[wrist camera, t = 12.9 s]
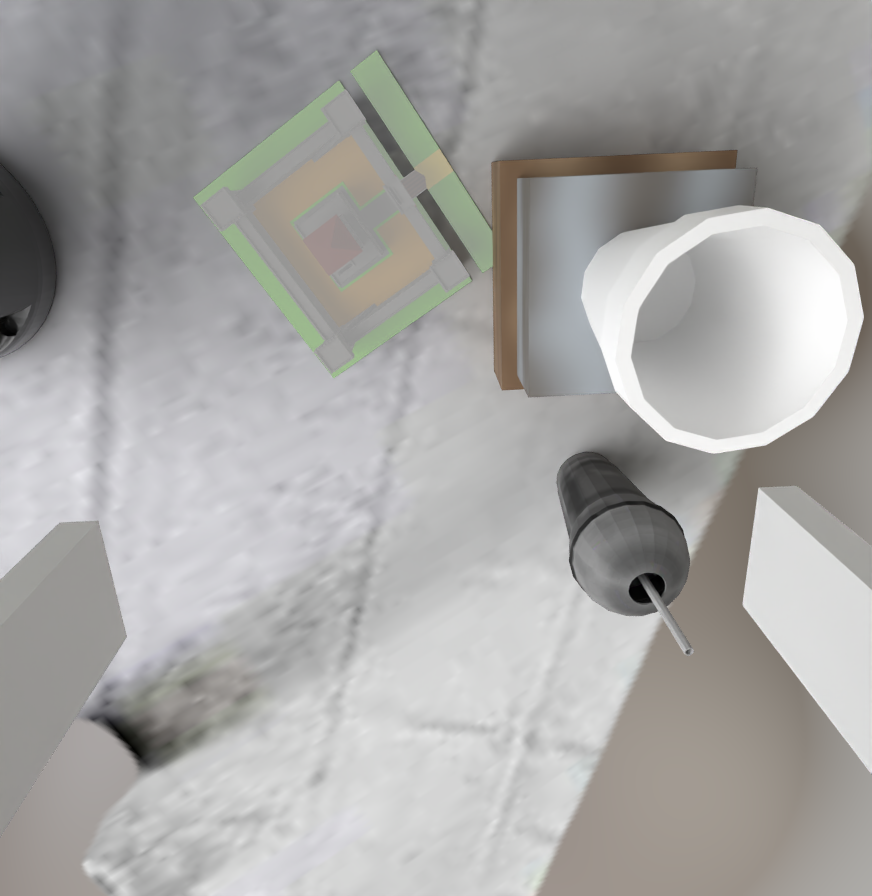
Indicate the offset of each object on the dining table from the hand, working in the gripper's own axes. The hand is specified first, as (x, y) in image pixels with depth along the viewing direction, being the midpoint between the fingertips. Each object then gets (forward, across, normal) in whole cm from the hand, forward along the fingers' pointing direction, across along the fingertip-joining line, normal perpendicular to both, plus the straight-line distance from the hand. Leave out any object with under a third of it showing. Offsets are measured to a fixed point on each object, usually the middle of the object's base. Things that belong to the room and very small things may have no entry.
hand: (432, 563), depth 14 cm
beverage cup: (+37, +12, -15) cm, 42 cm away
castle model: (+37, -4, +4) cm, 38 cm away
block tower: (+37, +12, +1) cm, 39 cm away
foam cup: (+27, +12, +1) cm, 29 cm away
